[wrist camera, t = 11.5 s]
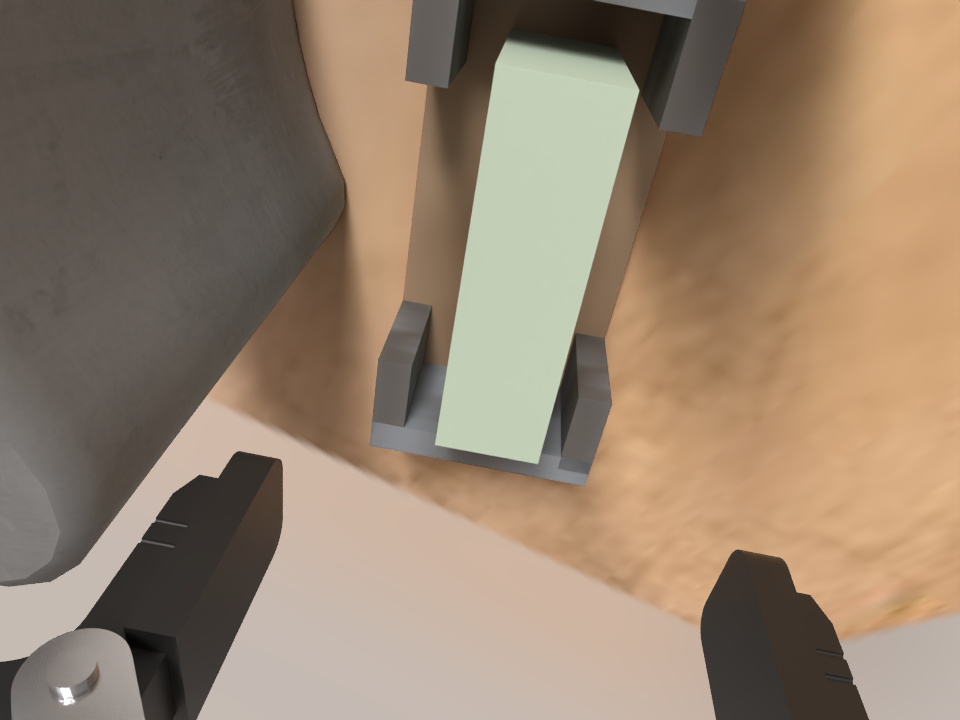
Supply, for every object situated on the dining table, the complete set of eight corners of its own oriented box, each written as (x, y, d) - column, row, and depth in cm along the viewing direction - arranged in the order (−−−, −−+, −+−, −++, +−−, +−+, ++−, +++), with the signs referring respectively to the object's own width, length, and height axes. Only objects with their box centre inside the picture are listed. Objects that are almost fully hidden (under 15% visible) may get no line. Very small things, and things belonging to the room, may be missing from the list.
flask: (80, -228, 20) (-2293, -1014, 3) (266, -253, 20) (-1559, -1404, 3) (219, 244, 28) (-286, 714, 11) (357, 239, 27) (37, 733, 11)
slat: (617, 47, 22) (639, 90, 16) (541, 354, 29) (538, 464, 23) (511, 27, 22) (495, 63, 16) (460, 339, 29) (434, 445, 23)
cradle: (714, -35, 21) (755, -26, 17) (580, 406, 31) (584, 486, 26) (449, -85, 21) (421, -90, 17) (396, 372, 31) (369, 445, 26)
